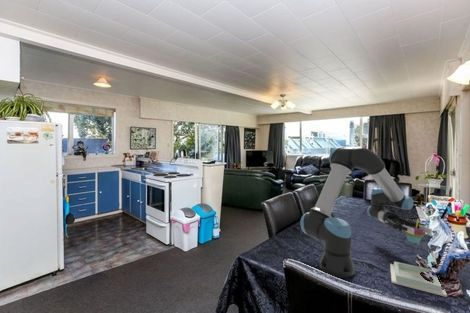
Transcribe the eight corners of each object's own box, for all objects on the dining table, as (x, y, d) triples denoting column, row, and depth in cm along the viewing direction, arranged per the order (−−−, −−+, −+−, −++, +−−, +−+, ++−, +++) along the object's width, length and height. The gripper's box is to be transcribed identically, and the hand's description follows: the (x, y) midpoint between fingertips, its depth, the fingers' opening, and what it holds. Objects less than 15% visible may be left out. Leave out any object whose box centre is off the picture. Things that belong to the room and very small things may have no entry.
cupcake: (415, 238, 122) (416, 215, 122) (428, 244, 114) (430, 220, 113) (399, 238, 122) (399, 215, 122) (411, 244, 114) (412, 220, 113)
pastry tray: (391, 282, 101) (392, 275, 101) (390, 265, 116) (390, 259, 116) (447, 297, 91) (447, 289, 91) (437, 275, 107) (437, 269, 106)
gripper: (405, 224, 136) (442, 239, 114) (371, 224, 135) (401, 239, 113) (406, 211, 136) (443, 224, 114) (371, 211, 135) (401, 224, 112)
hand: (422, 231), depth 113 cm, fingers closed on cupcake, 8 cm apart
